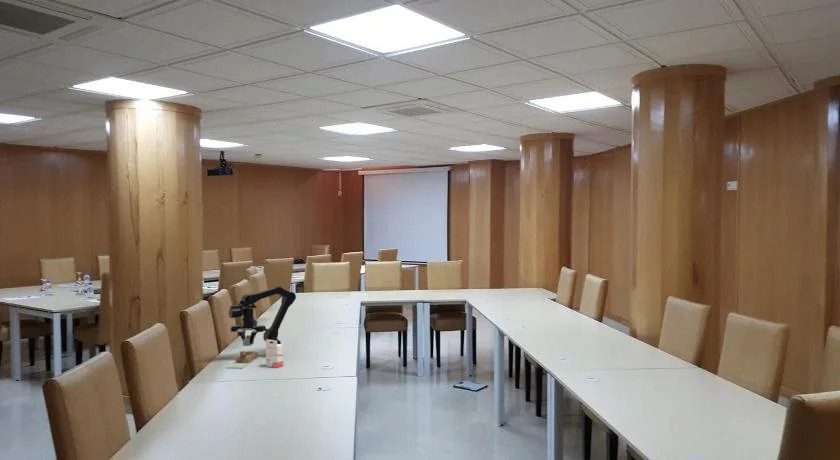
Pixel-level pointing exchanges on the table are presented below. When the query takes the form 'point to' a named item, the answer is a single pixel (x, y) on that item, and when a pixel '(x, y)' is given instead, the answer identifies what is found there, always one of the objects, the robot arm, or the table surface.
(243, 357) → the body
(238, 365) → the mat
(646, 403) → the table surface
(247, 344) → the lever cap
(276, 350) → the ink cartridge box
